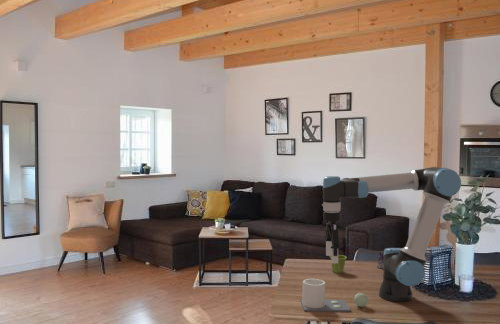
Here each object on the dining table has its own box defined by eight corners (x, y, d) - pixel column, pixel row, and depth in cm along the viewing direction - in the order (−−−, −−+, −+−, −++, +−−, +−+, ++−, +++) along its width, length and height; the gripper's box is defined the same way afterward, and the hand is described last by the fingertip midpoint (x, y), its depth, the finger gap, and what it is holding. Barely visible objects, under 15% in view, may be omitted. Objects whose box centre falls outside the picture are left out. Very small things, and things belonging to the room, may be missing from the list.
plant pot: (348, 271, 264) (349, 256, 264) (342, 275, 256) (343, 259, 256) (333, 268, 269) (333, 253, 269) (326, 272, 261) (327, 257, 261)
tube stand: (344, 301, 213) (344, 278, 213) (350, 311, 200) (351, 286, 200) (300, 300, 213) (300, 277, 212) (304, 311, 200) (304, 286, 199)
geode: (389, 272, 265) (388, 254, 265) (373, 270, 274) (371, 253, 274) (409, 265, 278) (408, 248, 278) (393, 263, 287) (391, 247, 287)
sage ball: (365, 304, 210) (366, 291, 209) (369, 309, 204) (369, 295, 203) (352, 304, 210) (352, 291, 209) (355, 308, 204) (355, 295, 203)
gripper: (318, 207, 218) (319, 252, 218) (328, 215, 193) (328, 266, 194) (334, 207, 218) (335, 252, 219) (346, 215, 193) (346, 266, 194)
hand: (332, 259), depth 206 cm, fingers open, 13 cm apart
